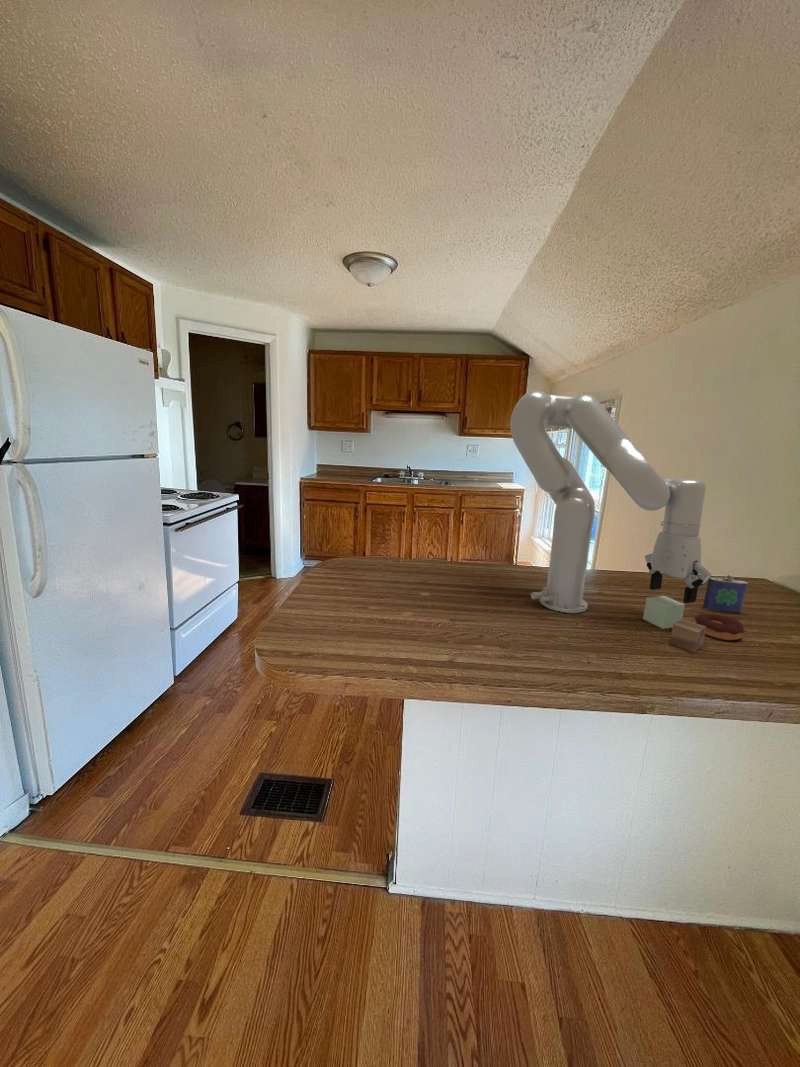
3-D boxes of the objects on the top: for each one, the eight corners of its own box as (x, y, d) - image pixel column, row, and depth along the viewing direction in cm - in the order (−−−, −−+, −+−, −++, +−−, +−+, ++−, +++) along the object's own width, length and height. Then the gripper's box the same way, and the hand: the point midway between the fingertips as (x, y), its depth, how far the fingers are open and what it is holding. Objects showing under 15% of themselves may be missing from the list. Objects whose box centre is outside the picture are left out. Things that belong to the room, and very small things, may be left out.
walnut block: (693, 652, 95) (698, 632, 94) (669, 643, 99) (673, 624, 98) (702, 646, 98) (706, 626, 97) (678, 638, 102) (681, 618, 101)
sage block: (662, 629, 107) (666, 606, 105) (642, 619, 112) (646, 597, 111) (680, 626, 109) (685, 604, 107) (660, 616, 114) (664, 595, 113)
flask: (738, 610, 119) (747, 574, 117) (743, 615, 117) (752, 578, 114) (701, 606, 122) (708, 570, 119) (705, 610, 119) (712, 574, 117)
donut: (683, 627, 108) (685, 613, 107) (707, 621, 112) (710, 607, 111) (725, 646, 99) (729, 630, 98) (751, 639, 103) (754, 624, 102)
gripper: (639, 523, 111) (632, 586, 115) (702, 538, 95) (692, 610, 99) (661, 522, 114) (654, 583, 117) (727, 535, 97) (716, 606, 101)
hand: (671, 595), depth 108 cm, fingers open, 9 cm apart
